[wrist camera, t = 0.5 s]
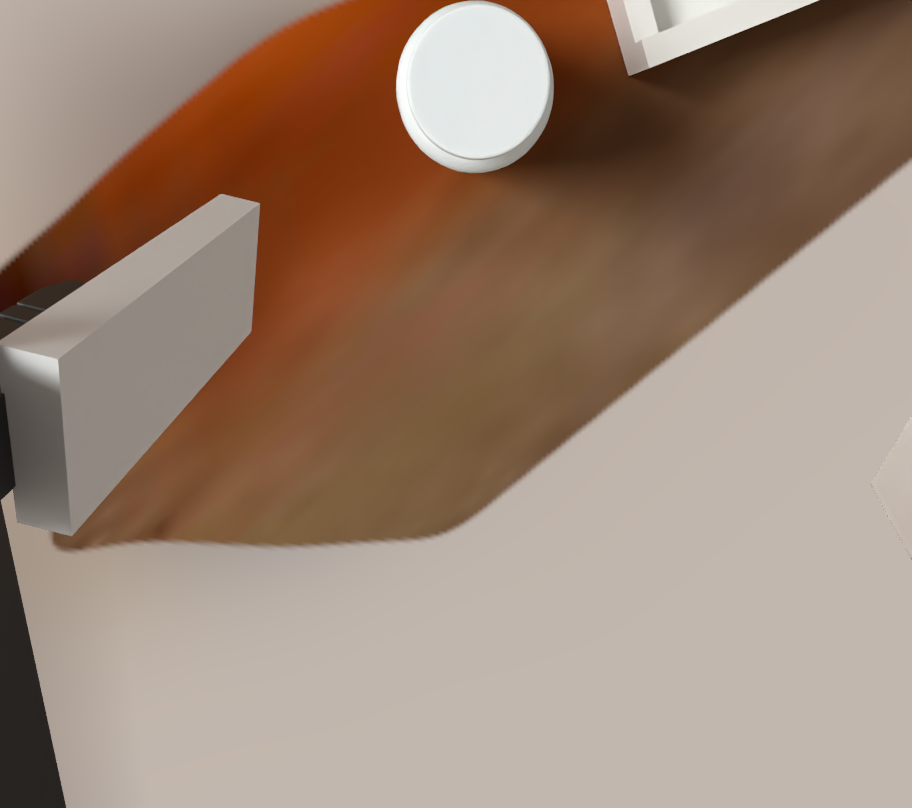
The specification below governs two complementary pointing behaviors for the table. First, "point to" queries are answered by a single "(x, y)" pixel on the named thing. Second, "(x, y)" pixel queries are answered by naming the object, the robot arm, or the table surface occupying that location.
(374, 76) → the table surface
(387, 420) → the table surface
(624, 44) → the pusher lane
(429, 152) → the pill bottle
